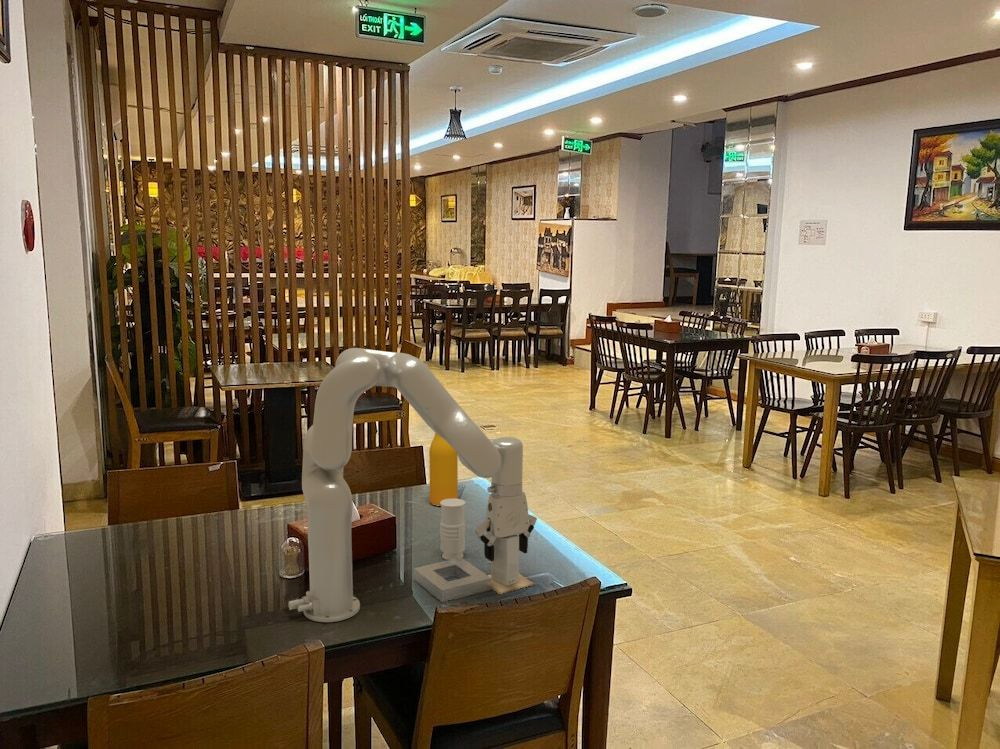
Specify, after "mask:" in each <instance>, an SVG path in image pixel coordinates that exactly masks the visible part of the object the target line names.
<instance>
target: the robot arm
mask: <svg viewBox="0 0 1000 749" xmlns="http://www.w3.org/2000/svg"><path fill="white" fill-rule="evenodd" d="M374 386H375V387H384V388H385V387H388V388H396V390H397V391H398V392H399V393H400V394H401V395H402V397H403V398H404V400H406V402H408V404H409V405H410V406H411V407H412V408H413V410H414V411H416V413H417V414H418V415H419V417H420V418H421V419H422V420H423V421H424V423H425V424H426V425H427V426H428V427H430V429H431V430H432V431H433V432H434V434H435V433H437V434H438V435H439V436H440V437H442V438H443V439H444V440H445V441H447V442H448V443H449V444H450V445H451V446H452V447H453V448H454V449H455V451H456V452H457V453H458V460H459V462H460V463H461V464H462V466H464V467H465V468H466V469H468V470H469V471H470V472H472V473H473V474H474V475H475V476H477V477H479V478H482V479H489V478H491V482H490V486H488V487H487V489H486V490H487V492H488V493H489V496H488V498H487V506H486V513H485V514H486V515H485V520H484V521H483V522H482V523H481V524H479V525H478V526H476V528H475V529H474V532H475V534H476V536H477V538H478V539H479V540H480V541H481V542H482V543H483V544H484V547H483V549H484V554H483V555H484V557H485V559H487V560H488V561H489V562H491V561H494V545H492V544H493V542H494V541H495V539H496V538H503V537H508V536H513V535H518V536H519V552H521V553H523V554H528V547H529V538H530V536H531V533H532V532H533V530H534V528H535V525H536V522H537V520H538V518H537V517H536V516H535V515H532V514H529V508H528V507H529V506H528V502H527V495H526V492H524V491H523V469H524V468H523V465H524V464H523V461H524V460H523V455H524V454H523V452H524V451H523V449H524V446H523V442H522V441H521V439H519V438H516V437H511V436H510V437H507V436H504V437H503V436H502V437H498V438H489V437H488V436H487V435H486V434H485V433H484V432H483V430H481V429H480V427H479V426H478V424H476V422H475V421H473V419H471V417H470V416H469V415H468V413H466V411H465V409H463V407H462V406H460V404H459V403H458V402H457V401H456V400H455V399H454V397H453V396H452V395H451V393H450V392H449V391H448V390H447V389H446V388H445V386H444V385H443V384H442V383H441V382H440V380H439V379H438V378H437V377H436V375H435V374H434V373H433V372H432V371H431V370H430V368H429V367H428V366H427V364H426V363H424V362H423V361H422V360H421V359H419V358H418V357H417V356H413V355H411V354H409V353H404V352H395V351H388V350H387V351H385V350H378V349H377V350H376V349H369V348H360V347H351V348H348V349H345V350H343V351H342V352H341V353H340V354H339V355H338V356H337V359H336V361H335V367H334V368H333V369H332V370H330V371H329V372H328V373H327V374H326V376H325V377H324V378H323V380H322V381H321V382H320V385H319V387H318V388H317V392H316V396H315V401H314V402H315V403H314V411H313V412H314V413H313V423H312V425H311V426H310V427H309V428H308V430H307V431H306V433H305V436H304V438H303V447H302V448H303V451H302V470H301V471H302V472H301V488H302V489H301V490H302V493H303V497H304V499H305V501H306V504H307V505H306V506H307V513H308V514H307V542H308V543H307V547H308V570H309V571H308V572H309V590H307V591H306V592H305V596H302V598H299V599H294V600H288V608H289V610H290V611H291V610H295V609H297V611H298V613H301V612H303V614H304V615H303V616H305V617H306V619H309V620H311V621H313V622H319V623H334V622H335V623H337V622H341V621H344V620H348V619H349V618H352V617H354V616H355V615H356V614H358V613H359V611H360V609H361V602H360V600H359V599H358V598H357V597H356V596H354V590H353V589H354V586H353V584H354V583H353V582H354V581H353V550H352V548H353V547H352V546H353V544H352V518H353V506H354V505H353V504H354V503H353V495H352V492H351V491H352V490H351V489H350V486H349V484H348V483H347V482H346V480H345V479H344V467H345V466H346V465H347V464H348V462H349V461H350V458H351V455H352V452H353V423H354V412H355V407H356V403H357V401H358V399H359V398H360V397H361V395H362V394H364V393H365V392H366V391H368V390H370V389H372V388H373V387H374ZM484 531H486V533H485V532H484ZM484 533H485V534H484ZM491 535H492V536H491Z"/></svg>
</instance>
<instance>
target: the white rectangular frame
mask: <svg viewBox="0 0 1000 749" xmlns="http://www.w3.org/2000/svg"><path fill="white" fill-rule="evenodd" d="M488 575H489V574H488ZM488 575H487V573H485V572H483V571H482V570H480V569H479V568H477V567H476V566H475V565H473V564H471V563H470V562H469V561H467V560H466V559H464V557H463V558H456V559H452V560H447V559H446V560H444V561H440V562H435V563H431V564H426V565H422V566H417V567H413V580H414V581H415V582H416V583H417V584H418V585H420V586H421V587H422V586H423V587H424V588H423V587H422V588H423V589H424V590H426V591H427V592H428V593H430V594H431V595H432V596H433V595H434V596H433V597H434V598H436V599H437V600H438V599H439V600H440V602H441V603H444V602H443V601H446V602H449V601H448V600H450V601H453V599H454V600H457V599H461V598H464V597H468V596H472V595H476V594H480V593H483V592H487V591H491V590H492V589H491V577H489V576H488ZM454 577H457V578H456V579H454V580H450V581H448V580H446V579H448V578H454ZM439 600H438V601H439Z"/></svg>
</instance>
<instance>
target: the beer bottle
mask: <svg viewBox="0 0 1000 749" xmlns="http://www.w3.org/2000/svg"><path fill="white" fill-rule="evenodd" d="M428 454H429V503H430V502H431V503H432V504H435V505H439V506H441V505H440V502H441V501H442V500H445V499H459V496H458V495H459V493H458V488H459V487H458V481H459V480H458V476H459V475H458V473H459V472H458V466H459V465H458V460H459V458H458V453H457V452H456V451H455V449H454V448H453V447H452V446H451V445H450V444H449V443H448V442H447V441H445V440H444V439H443V438H442V437H440V436H439V435H438V434H437V433H435V432H434V436H433V438H432V440H431V442H430V446H429V453H428ZM431 503H430V504H431ZM432 504H431V505H432Z"/></svg>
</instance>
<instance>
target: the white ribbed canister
mask: <svg viewBox="0 0 1000 749" xmlns="http://www.w3.org/2000/svg"><path fill="white" fill-rule="evenodd" d="M440 505H441V507H440V522H439V526H440V527H439V529H440V530H439V534H440V535H439V537H440V547H439V550H440V551H441V552H442V554H441V558H442V559H444V560H446V561H447V560H452V559H456V558H463V559H464V556H465V555H464V551H465V550H466V542H465V538H466V520H465V506H466V501H465V500H464V499H461V498H458V499H445V500H442V501H441V502H440Z"/></svg>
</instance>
